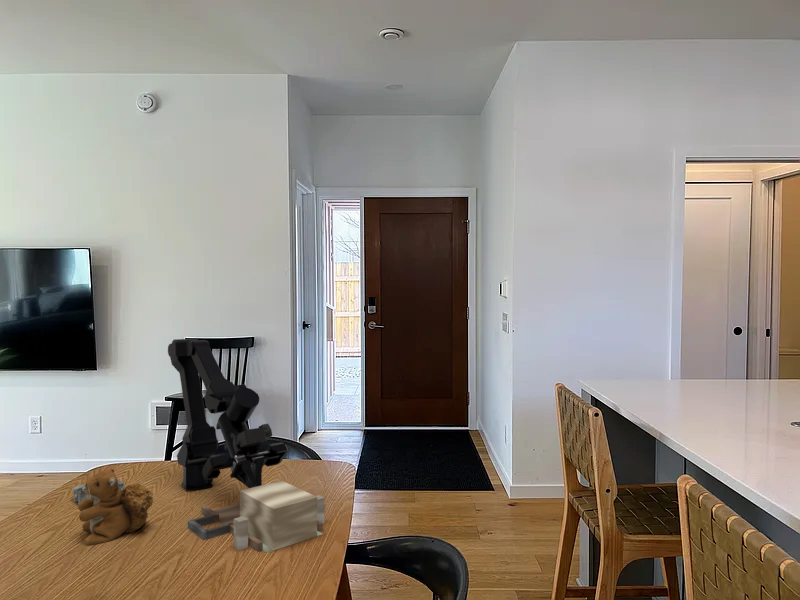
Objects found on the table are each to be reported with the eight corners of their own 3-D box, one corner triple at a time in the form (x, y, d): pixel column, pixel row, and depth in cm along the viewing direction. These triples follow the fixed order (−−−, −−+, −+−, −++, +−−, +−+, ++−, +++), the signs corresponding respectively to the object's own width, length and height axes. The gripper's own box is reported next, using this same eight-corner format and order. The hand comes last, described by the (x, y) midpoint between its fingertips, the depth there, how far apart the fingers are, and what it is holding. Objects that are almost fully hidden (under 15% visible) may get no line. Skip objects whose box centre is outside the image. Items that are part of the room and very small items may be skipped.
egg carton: (78, 508, 132) (78, 491, 132) (70, 500, 138) (70, 483, 138) (127, 497, 139) (127, 480, 139) (117, 489, 145) (117, 473, 145)
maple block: (239, 528, 119) (239, 490, 119) (281, 516, 126) (281, 480, 126) (273, 550, 109) (273, 509, 109) (317, 536, 116) (317, 497, 116)
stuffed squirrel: (79, 529, 120) (80, 467, 120) (152, 518, 126) (152, 459, 126) (75, 548, 111) (75, 480, 111) (153, 535, 117) (154, 472, 117)
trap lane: (176, 521, 124) (176, 494, 124) (280, 494, 141) (281, 470, 141) (234, 566, 104) (235, 533, 103) (348, 527, 121) (348, 499, 121)
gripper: (208, 418, 121) (231, 483, 113) (284, 407, 133) (310, 465, 125) (192, 448, 126) (213, 511, 118) (267, 435, 139) (291, 491, 131)
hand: (259, 493), depth 123 cm, fingers closed
